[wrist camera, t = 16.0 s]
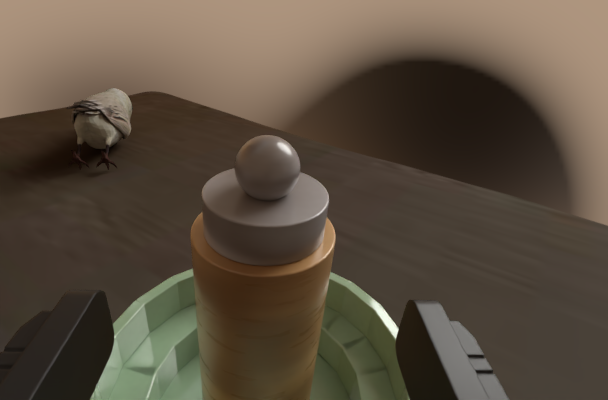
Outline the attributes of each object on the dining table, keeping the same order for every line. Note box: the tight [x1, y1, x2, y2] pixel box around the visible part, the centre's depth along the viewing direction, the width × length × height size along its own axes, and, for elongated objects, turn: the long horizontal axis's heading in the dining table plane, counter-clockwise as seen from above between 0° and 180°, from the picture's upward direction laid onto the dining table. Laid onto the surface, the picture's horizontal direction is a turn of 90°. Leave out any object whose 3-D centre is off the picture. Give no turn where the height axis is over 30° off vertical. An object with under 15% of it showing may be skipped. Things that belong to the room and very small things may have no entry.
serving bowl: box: [90, 269, 410, 400], centre depth 17 cm, size 14×14×5 cm
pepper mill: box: [191, 135, 336, 400], centre depth 14 cm, size 5×5×14 cm
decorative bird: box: [67, 88, 133, 170], centre depth 44 cm, size 5×16×8 cm, turn 11°
